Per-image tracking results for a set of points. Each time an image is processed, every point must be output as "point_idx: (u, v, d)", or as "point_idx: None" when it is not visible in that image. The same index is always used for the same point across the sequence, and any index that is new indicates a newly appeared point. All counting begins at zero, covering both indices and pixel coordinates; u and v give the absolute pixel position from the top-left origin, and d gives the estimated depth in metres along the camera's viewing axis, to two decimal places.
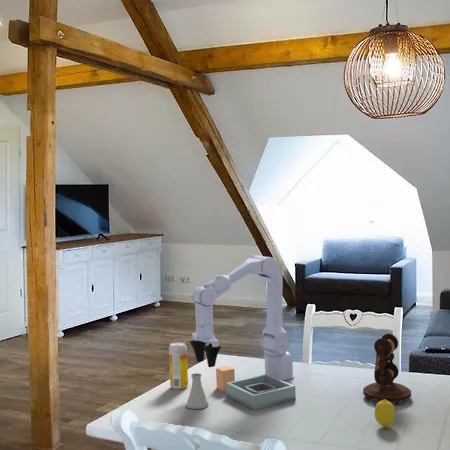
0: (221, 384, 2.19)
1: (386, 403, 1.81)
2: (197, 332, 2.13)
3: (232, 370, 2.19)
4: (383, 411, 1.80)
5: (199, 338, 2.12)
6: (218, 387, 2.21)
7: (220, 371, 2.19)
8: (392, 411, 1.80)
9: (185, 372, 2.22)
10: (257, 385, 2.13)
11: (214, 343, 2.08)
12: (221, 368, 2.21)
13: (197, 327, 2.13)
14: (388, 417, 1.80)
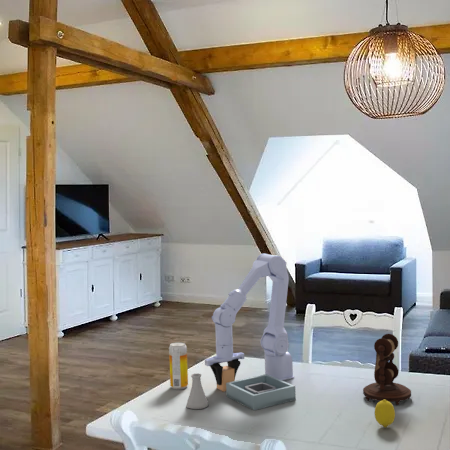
0: None
1: (386, 403, 1.81)
2: None
3: (232, 370, 2.19)
4: (383, 411, 1.80)
5: None
6: (218, 387, 2.21)
7: None
8: (392, 411, 1.80)
9: (185, 372, 2.22)
10: (257, 385, 2.13)
11: (205, 361, 2.17)
12: None
13: None
14: (388, 417, 1.80)
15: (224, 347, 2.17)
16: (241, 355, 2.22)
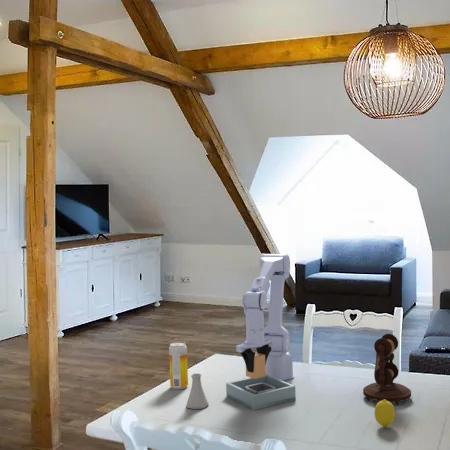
0: None
1: (386, 403, 1.81)
2: None
3: (263, 356, 2.10)
4: (383, 411, 1.80)
5: None
6: (248, 375, 2.10)
7: None
8: (392, 411, 1.80)
9: (185, 372, 2.22)
10: (257, 385, 2.13)
11: (237, 348, 2.06)
12: None
13: None
14: (388, 417, 1.80)
15: (256, 332, 2.07)
16: (271, 340, 2.13)
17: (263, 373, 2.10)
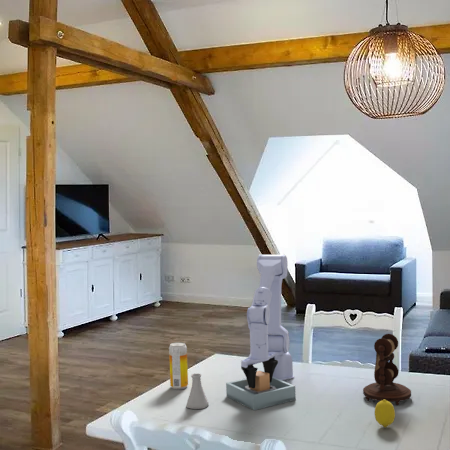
0: (257, 390, 2.08)
1: (386, 403, 1.81)
2: None
3: (267, 375, 2.09)
4: (383, 411, 1.80)
5: (250, 355, 2.10)
6: None
7: None
8: (392, 411, 1.80)
9: (185, 372, 2.22)
10: None
11: (242, 363, 2.05)
12: None
13: None
14: (388, 417, 1.80)
15: (261, 347, 2.06)
16: (274, 354, 2.13)
17: None
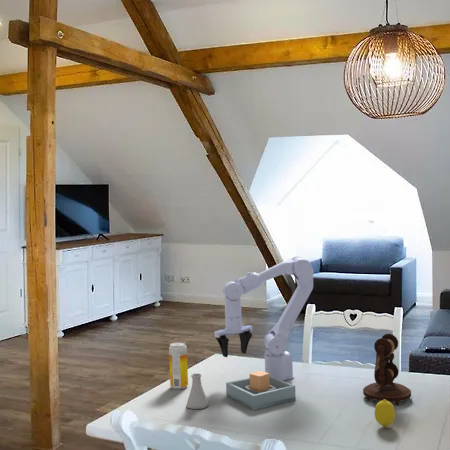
0: (257, 390, 2.08)
1: (386, 403, 1.81)
2: None
3: (267, 375, 2.09)
4: (383, 411, 1.80)
5: None
6: None
7: (255, 377, 2.08)
8: (392, 411, 1.80)
9: (185, 372, 2.22)
10: None
11: (215, 333, 2.24)
12: (255, 373, 2.10)
13: None
14: (388, 417, 1.80)
15: (233, 319, 2.24)
16: (249, 328, 2.30)
17: None
